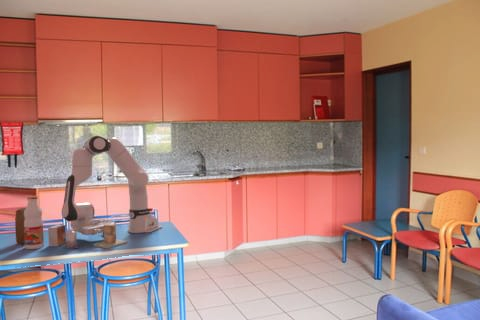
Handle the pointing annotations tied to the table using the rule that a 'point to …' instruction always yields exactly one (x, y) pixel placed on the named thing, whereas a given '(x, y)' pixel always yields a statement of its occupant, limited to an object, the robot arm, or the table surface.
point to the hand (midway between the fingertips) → (107, 229)
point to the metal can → (71, 239)
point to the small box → (57, 235)
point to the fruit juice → (33, 224)
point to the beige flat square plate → (106, 245)
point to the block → (20, 226)
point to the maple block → (110, 233)
